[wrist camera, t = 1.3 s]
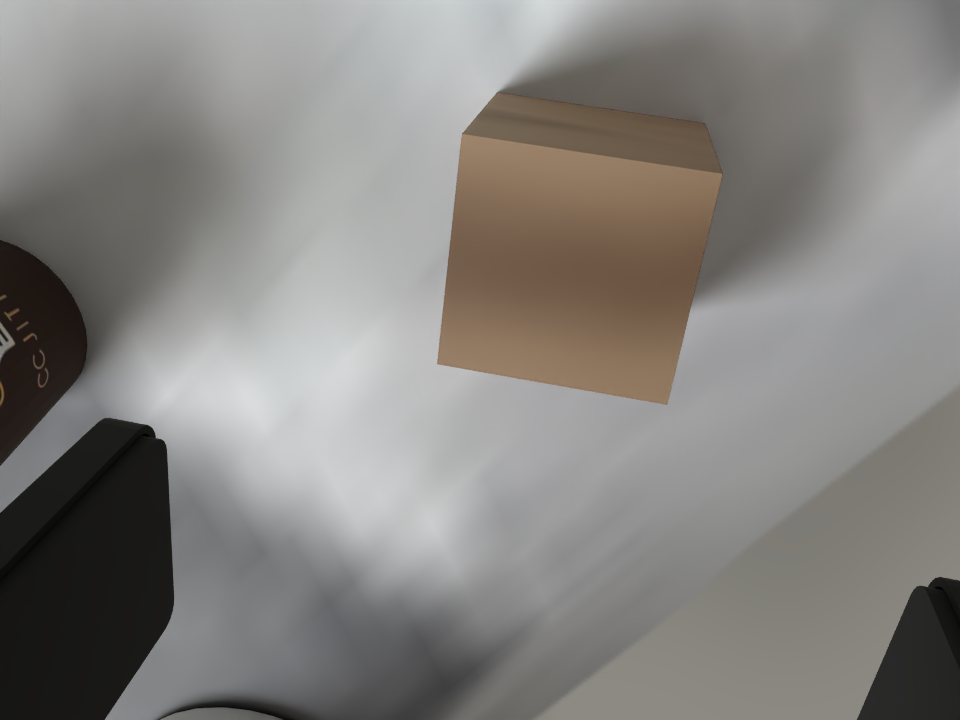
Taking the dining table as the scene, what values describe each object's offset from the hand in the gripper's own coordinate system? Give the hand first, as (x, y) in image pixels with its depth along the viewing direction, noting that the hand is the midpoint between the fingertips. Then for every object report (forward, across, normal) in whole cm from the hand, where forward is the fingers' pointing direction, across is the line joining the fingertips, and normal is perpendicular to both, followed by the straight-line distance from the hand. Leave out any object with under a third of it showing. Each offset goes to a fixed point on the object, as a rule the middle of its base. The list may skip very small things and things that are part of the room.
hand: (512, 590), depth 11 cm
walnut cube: (+18, 0, 0) cm, 18 cm away
